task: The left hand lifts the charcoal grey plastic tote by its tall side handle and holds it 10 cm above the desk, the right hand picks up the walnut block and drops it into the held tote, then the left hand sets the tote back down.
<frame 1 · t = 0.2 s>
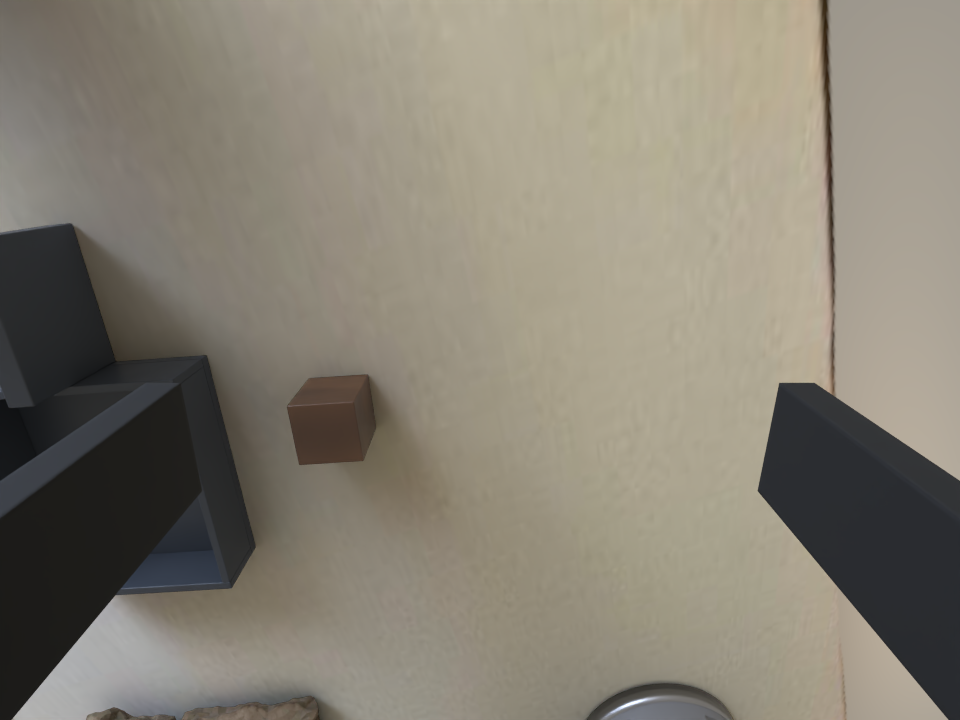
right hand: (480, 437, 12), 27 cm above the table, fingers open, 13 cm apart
tray: (138, 463, 44), on the table
block: (342, 403, 42), on the table
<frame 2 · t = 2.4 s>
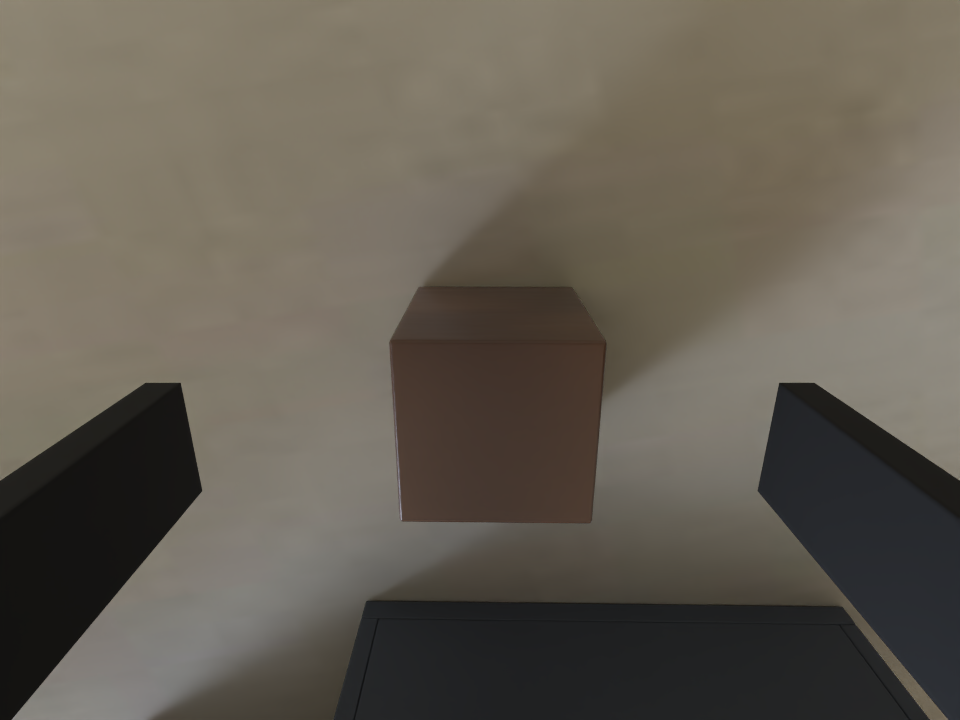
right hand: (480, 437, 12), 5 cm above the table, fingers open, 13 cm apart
block: (494, 359, 17), on the table
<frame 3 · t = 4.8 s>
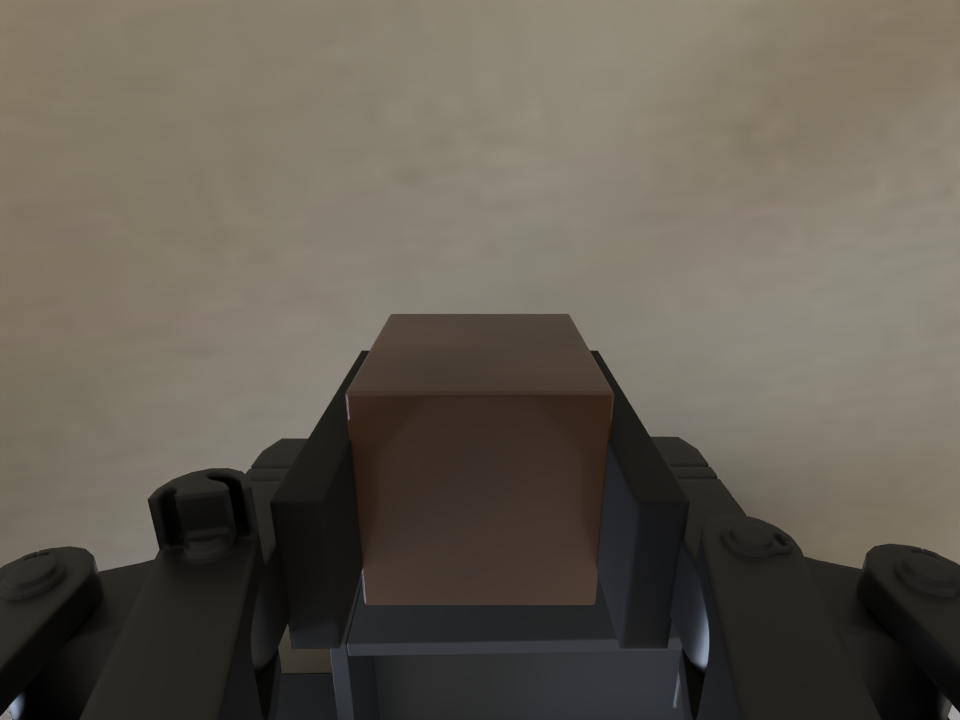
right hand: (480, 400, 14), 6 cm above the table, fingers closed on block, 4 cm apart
tray: (551, 681, 26), on the table
block: (479, 395, 15), point 6 cm above the table, touching right hand
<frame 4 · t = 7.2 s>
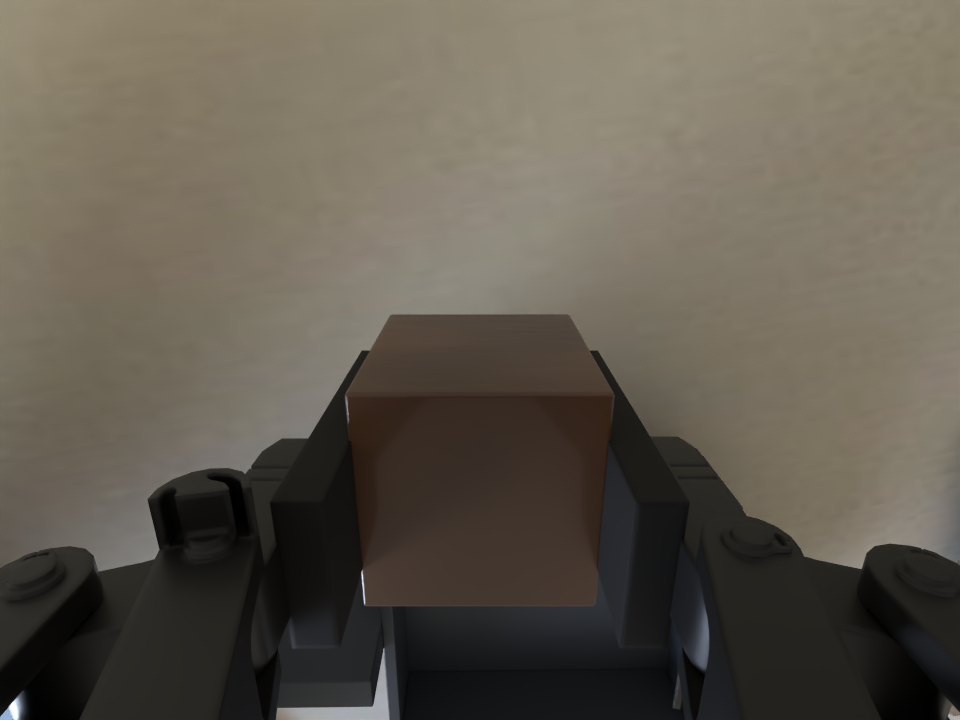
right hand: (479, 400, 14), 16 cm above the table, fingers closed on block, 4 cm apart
tray: (540, 569, 33), point 2 cm above the table, touching left hand
block: (479, 396, 15), point 15 cm above the table, touching right hand
when the right hand's fingers open (14 cm above the table, at t = 10.6 s): block drops 4 cm, resting on tray.
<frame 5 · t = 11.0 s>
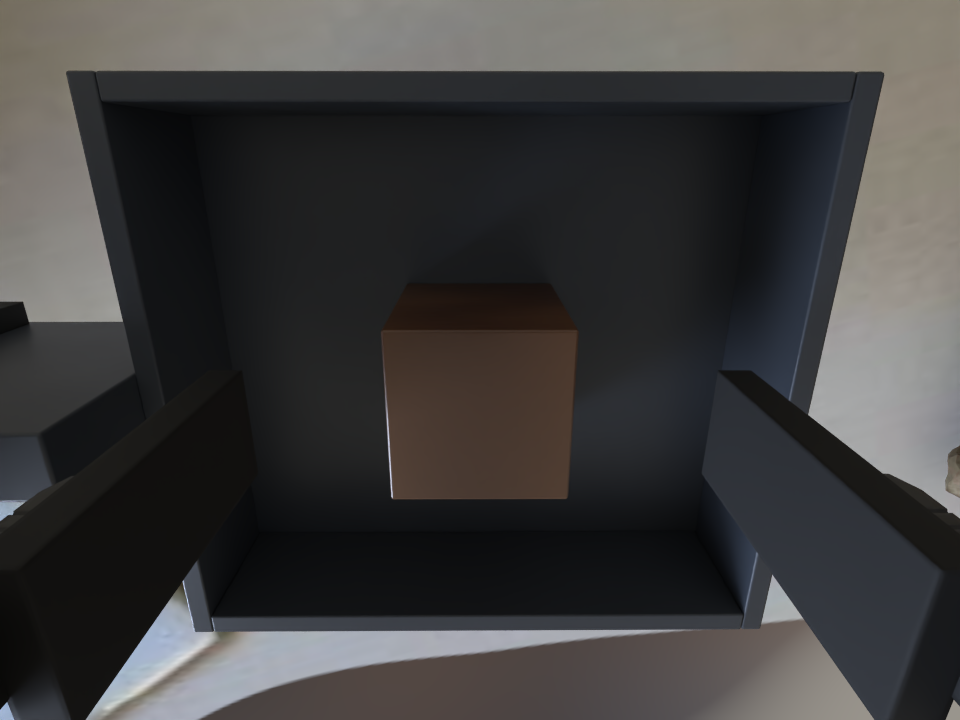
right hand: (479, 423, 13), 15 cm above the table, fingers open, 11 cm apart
tray: (477, 343, 19), point 9 cm above the table, touching block, left hand
block: (479, 351, 18), point 10 cm above the table, touching tray
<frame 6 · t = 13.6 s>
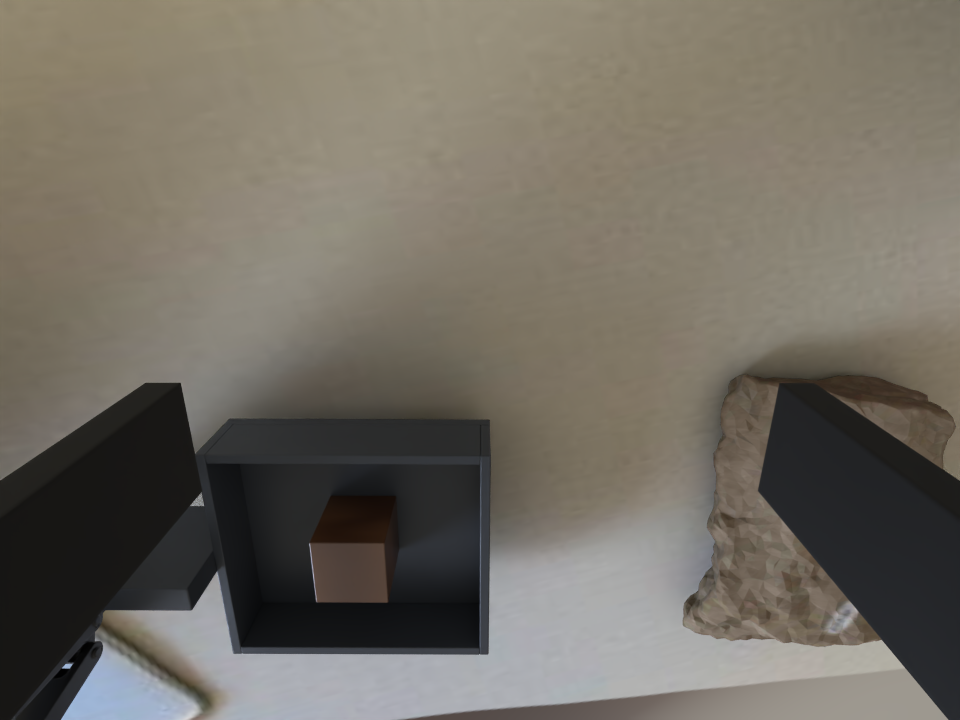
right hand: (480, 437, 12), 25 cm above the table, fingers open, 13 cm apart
stone: (782, 495, 42), on the table
tray: (367, 516, 39), point 3 cm above the table, touching block, left hand
block: (365, 523, 38), point 3 cm above the table, touching tray
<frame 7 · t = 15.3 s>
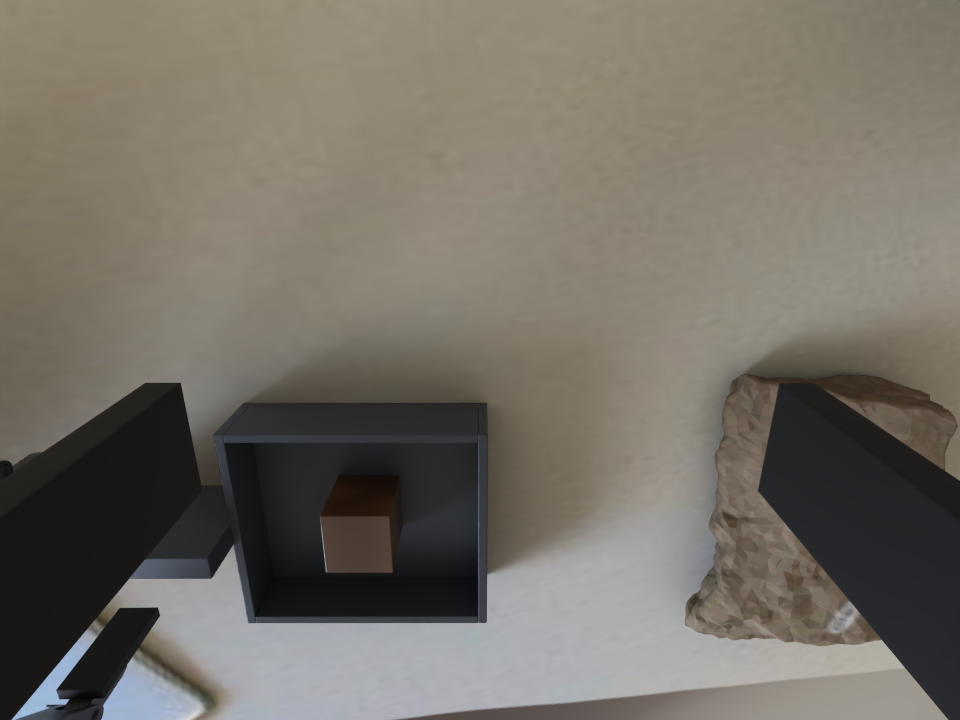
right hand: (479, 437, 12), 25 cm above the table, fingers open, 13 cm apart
stone: (784, 494, 42), on the table
tray: (372, 494, 42), on the table, touching block
block: (371, 501, 41), point 1 cm above the table, touching tray
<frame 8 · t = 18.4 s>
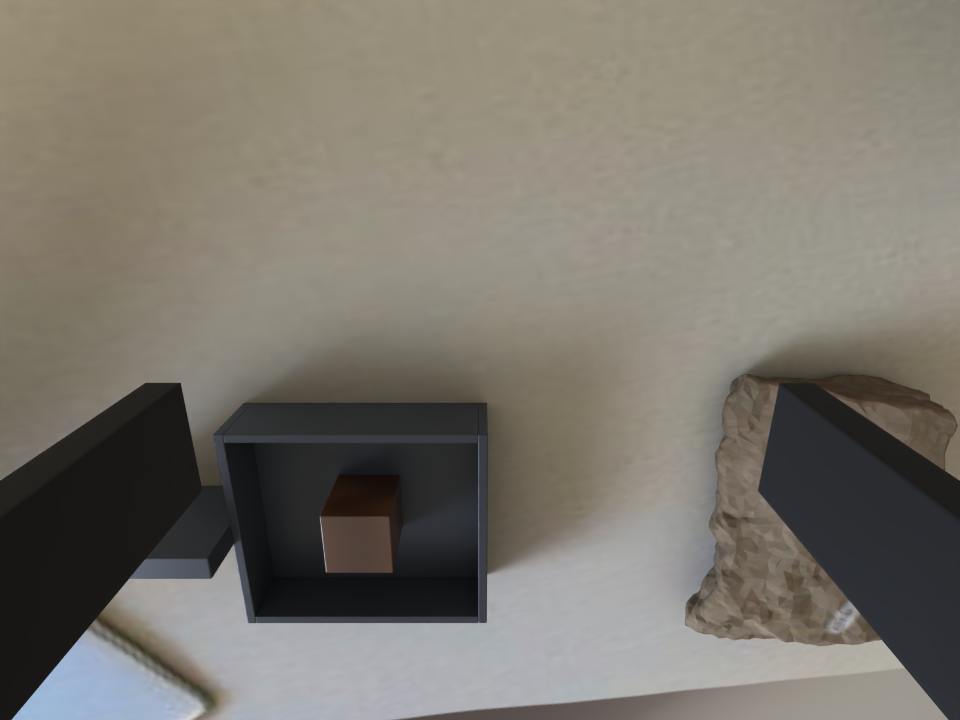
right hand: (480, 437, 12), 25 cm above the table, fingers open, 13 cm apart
stone: (784, 494, 42), on the table
tray: (372, 494, 42), on the table, touching block
block: (371, 501, 41), point 1 cm above the table, touching tray
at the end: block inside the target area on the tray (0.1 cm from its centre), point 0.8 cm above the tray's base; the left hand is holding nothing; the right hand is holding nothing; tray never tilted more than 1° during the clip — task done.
